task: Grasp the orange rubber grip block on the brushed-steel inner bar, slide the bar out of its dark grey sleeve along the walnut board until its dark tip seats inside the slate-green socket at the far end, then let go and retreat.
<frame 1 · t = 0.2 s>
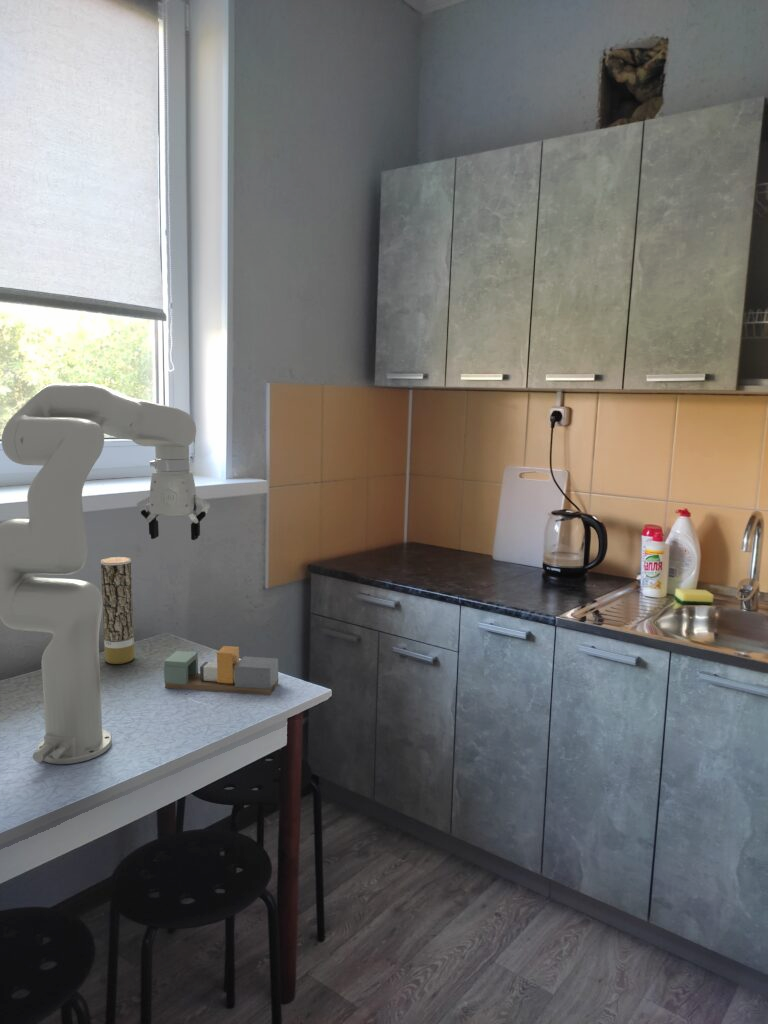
hand: (174, 538, 173), 31 cm above the table, fingers open, 9 cm apart
brown bark cylinder: (119, 661, 179), on the table
sleeve: (256, 672, 163), on the board, point 4 cm above the table
board: (222, 685, 164), on the table
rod: (235, 665, 163), point 5 cm above the table, slide at 0.0 cm
socket: (181, 667, 165), on the board, point 4 cm above the table
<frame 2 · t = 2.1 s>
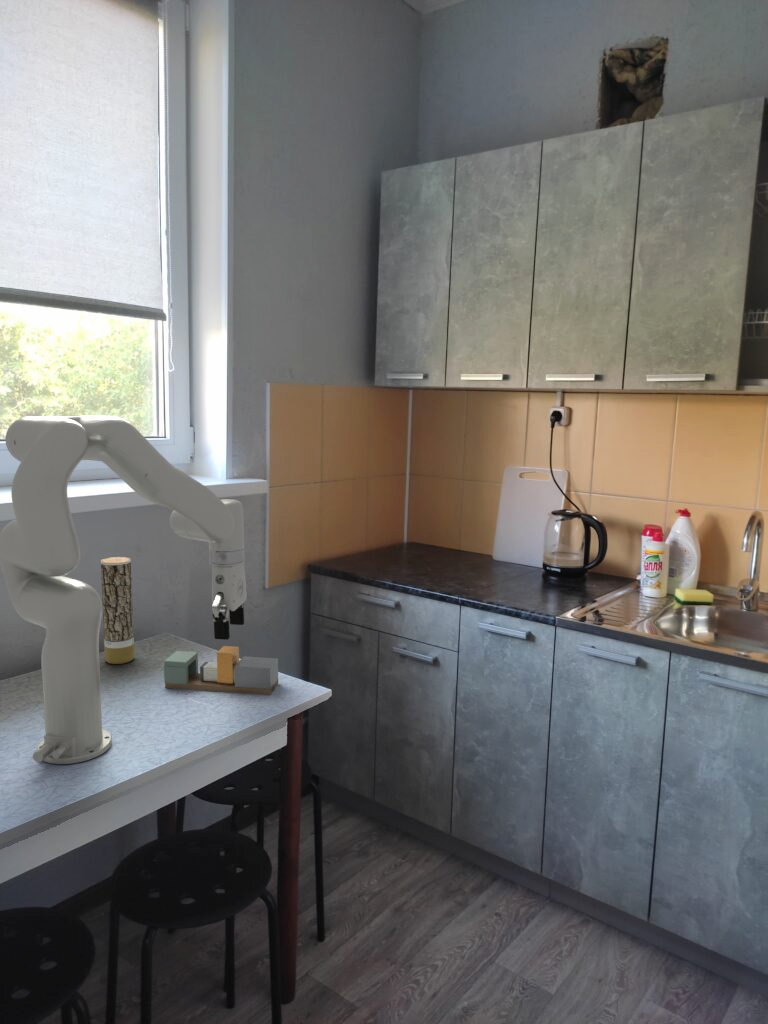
hand: (229, 631, 163), 13 cm above the table, fingers open, 9 cm apart
nothing on the table moved.
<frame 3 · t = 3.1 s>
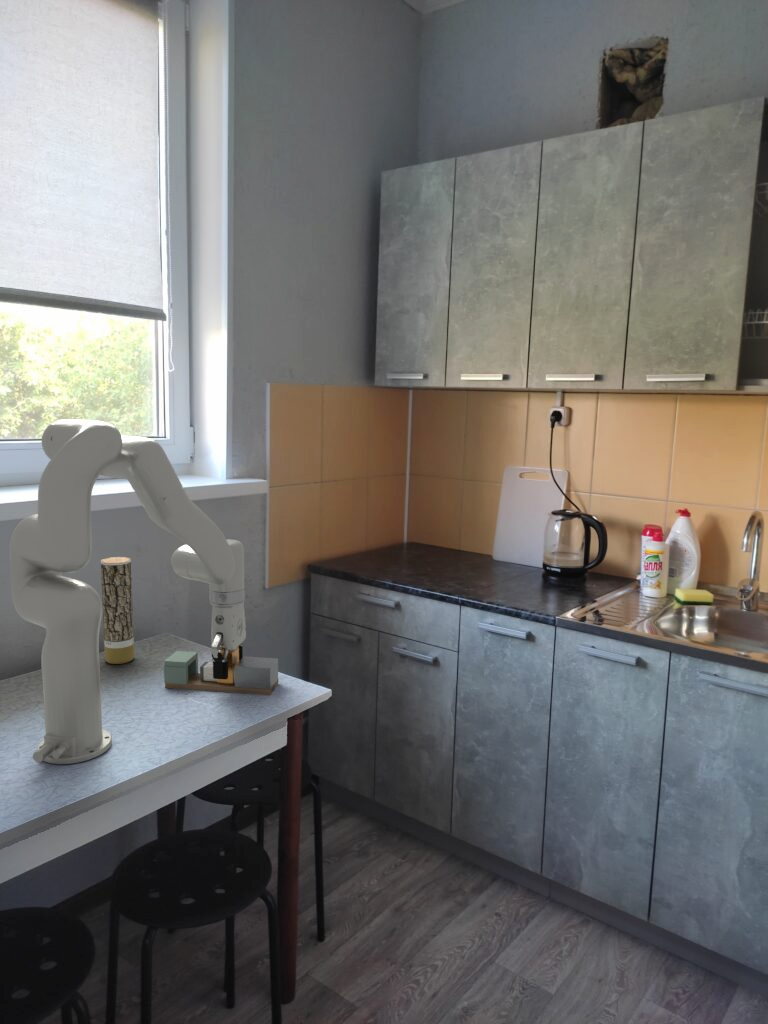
hand: (228, 670, 163), 4 cm above the table, fingers open, 9 cm apart
nothing on the table moved.
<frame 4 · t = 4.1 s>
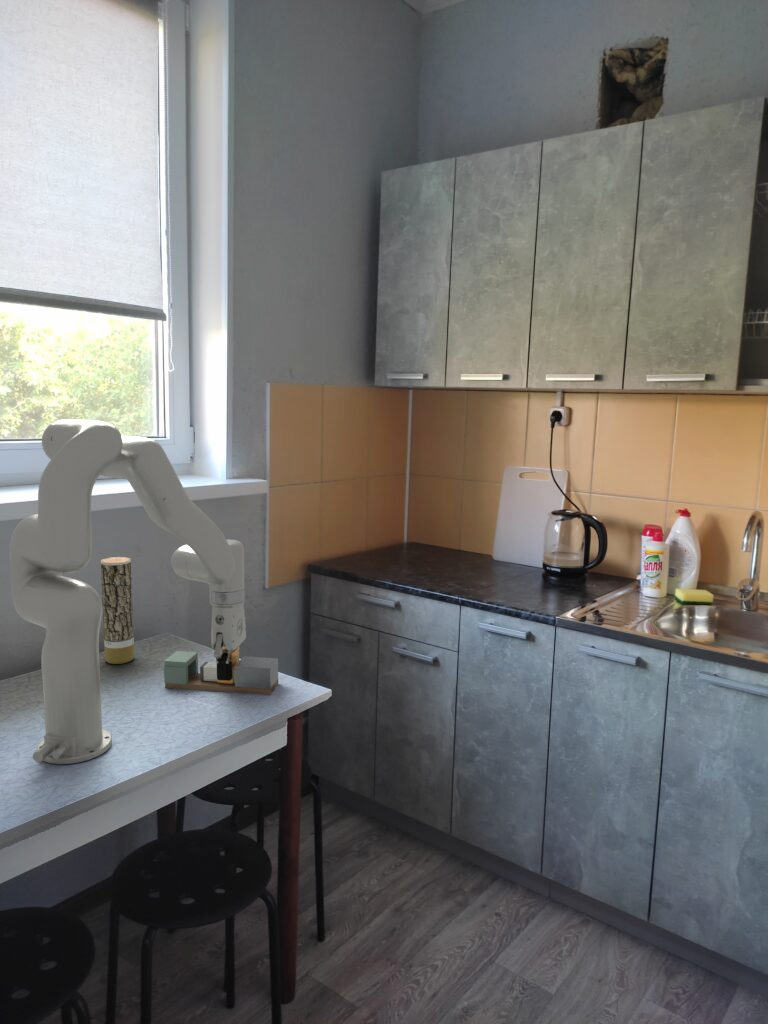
hand: (228, 674, 164), 3 cm above the table, fingers closed on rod, 4 cm apart
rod: (235, 665, 163), point 5 cm above the table, slide at 0.0 cm, touching gripper
everything else where it was.
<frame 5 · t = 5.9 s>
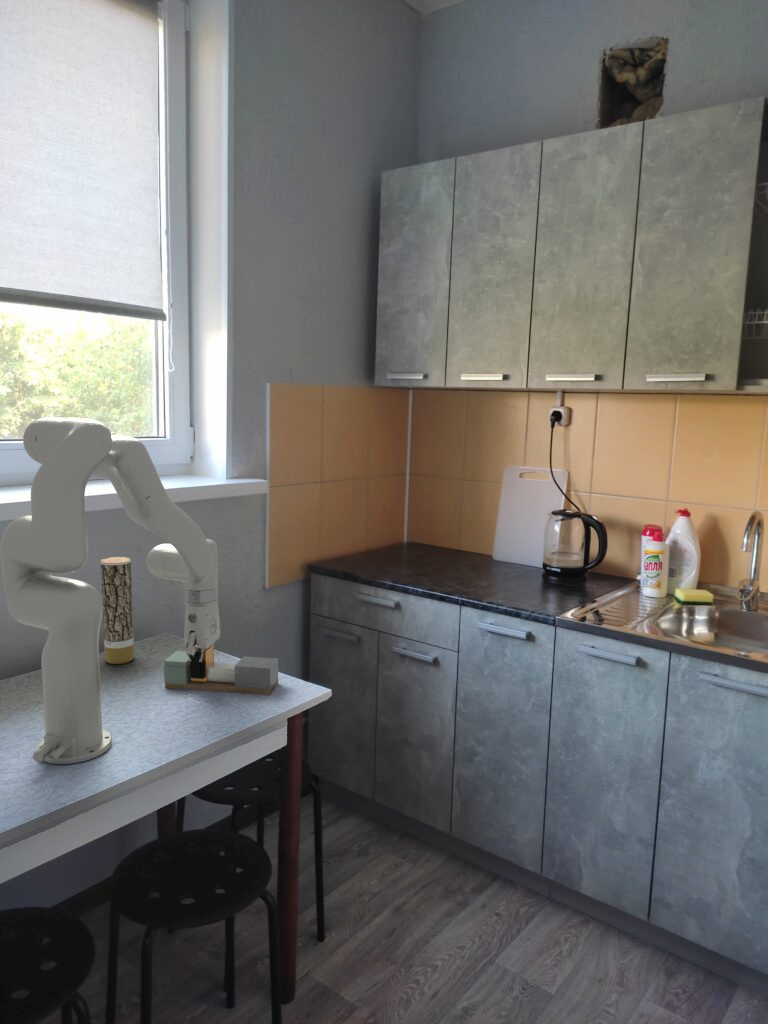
hand: (202, 672, 164), 3 cm above the table, fingers closed on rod, 4 cm apart
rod: (209, 663, 164), point 5 cm above the table, slide at 6.1 cm, touching gripper
everything else where it was.
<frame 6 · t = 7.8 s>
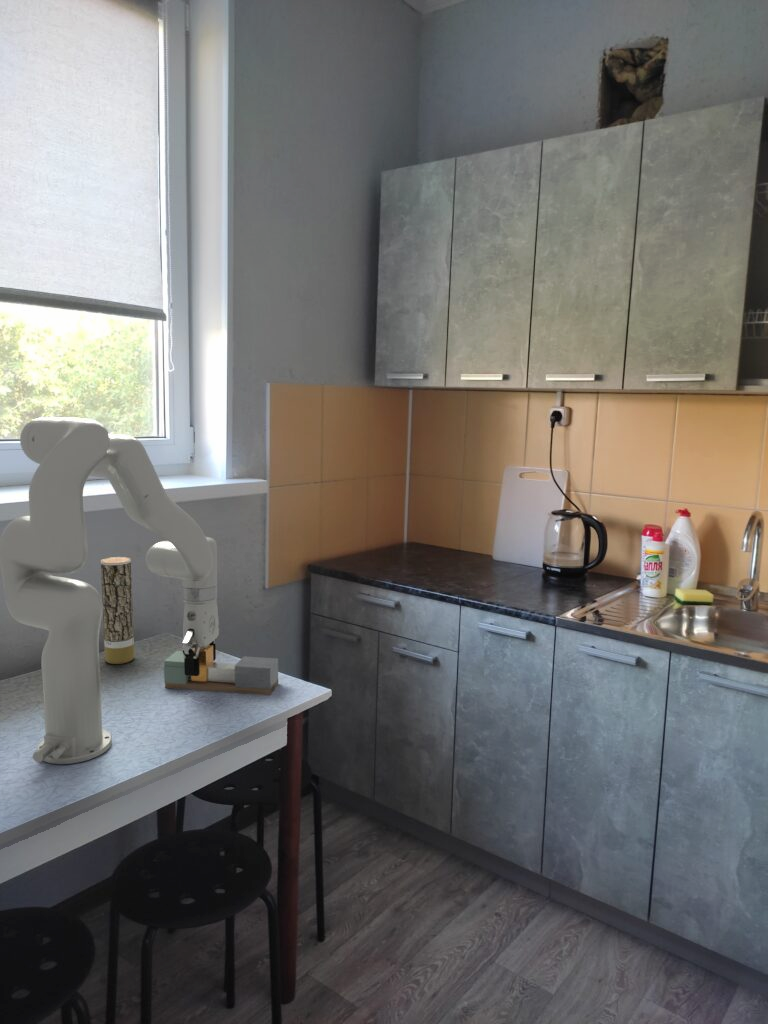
hand: (200, 667, 164), 4 cm above the table, fingers open, 9 cm apart
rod: (209, 663, 164), point 5 cm above the table, slide at 6.0 cm
everything else where it was.
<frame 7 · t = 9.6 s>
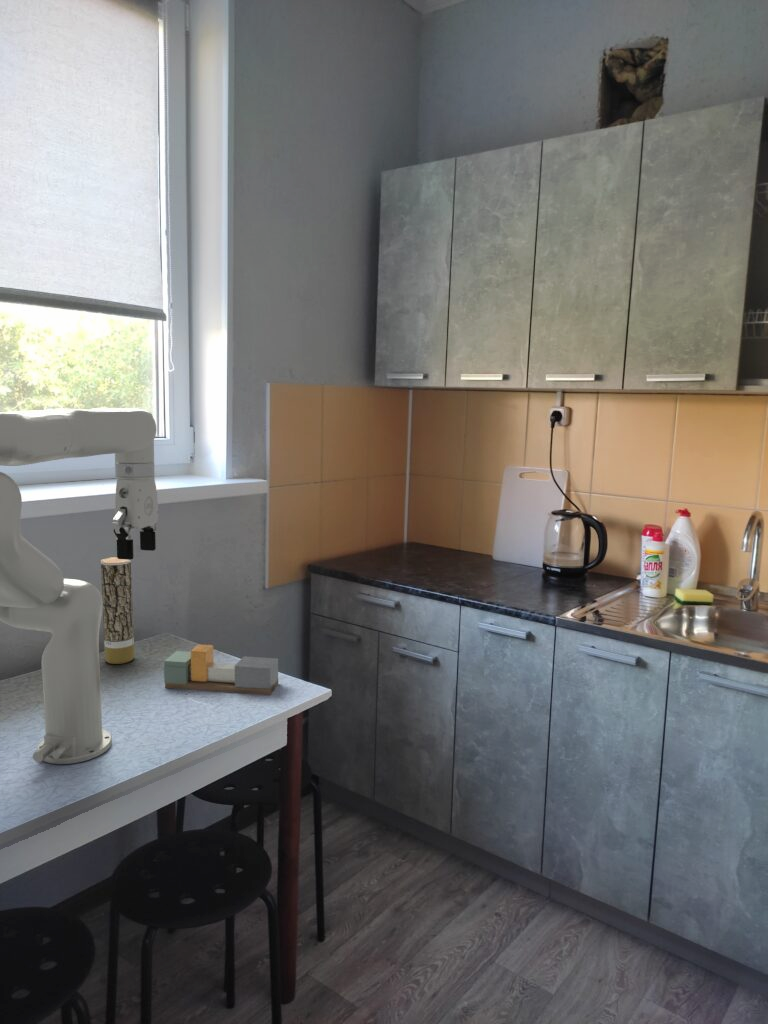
hand: (137, 554, 150), 32 cm above the table, fingers open, 9 cm apart
nothing on the table moved.
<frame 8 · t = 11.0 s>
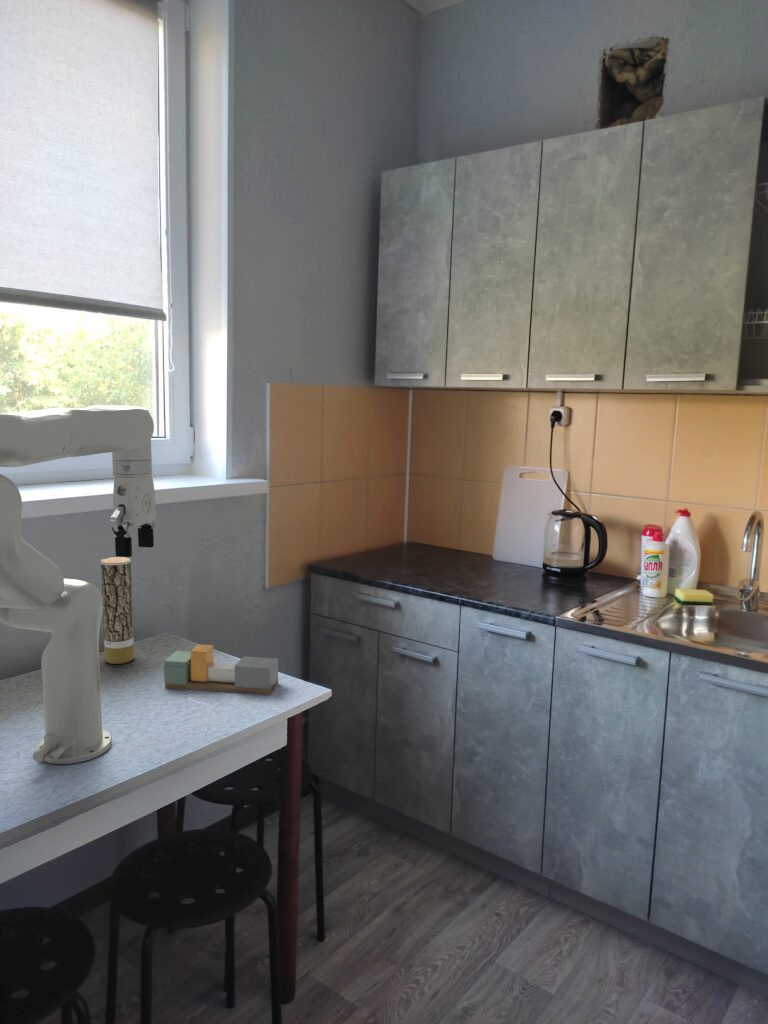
hand: (135, 551, 150), 32 cm above the table, fingers open, 9 cm apart
nothing on the table moved.
at the end: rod slide at 6.0 cm; the gripper is holding nothing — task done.
